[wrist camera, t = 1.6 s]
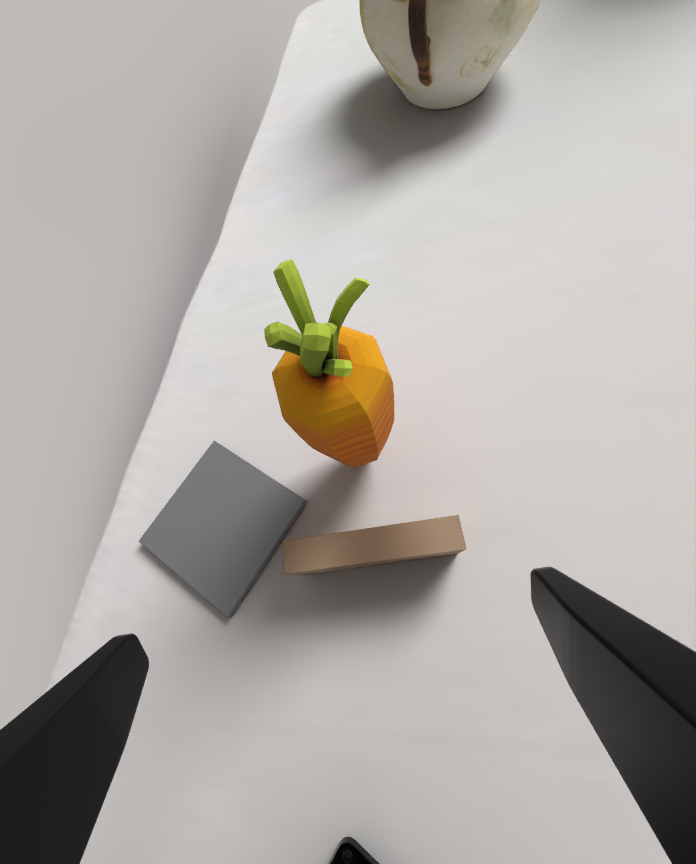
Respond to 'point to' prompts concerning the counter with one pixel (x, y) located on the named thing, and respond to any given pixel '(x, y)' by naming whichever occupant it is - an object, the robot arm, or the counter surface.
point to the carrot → (331, 376)
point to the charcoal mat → (222, 527)
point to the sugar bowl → (443, 44)
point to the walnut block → (374, 546)
